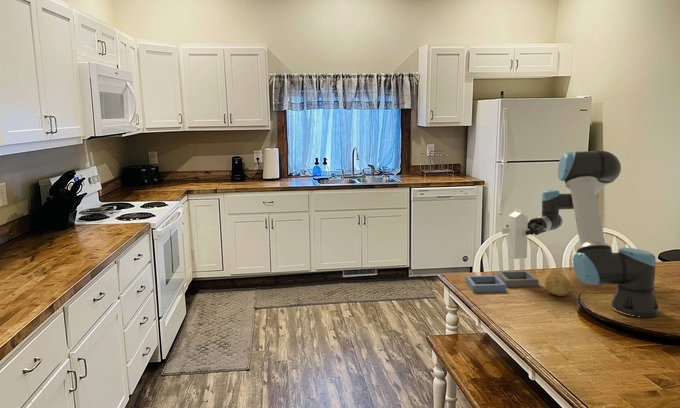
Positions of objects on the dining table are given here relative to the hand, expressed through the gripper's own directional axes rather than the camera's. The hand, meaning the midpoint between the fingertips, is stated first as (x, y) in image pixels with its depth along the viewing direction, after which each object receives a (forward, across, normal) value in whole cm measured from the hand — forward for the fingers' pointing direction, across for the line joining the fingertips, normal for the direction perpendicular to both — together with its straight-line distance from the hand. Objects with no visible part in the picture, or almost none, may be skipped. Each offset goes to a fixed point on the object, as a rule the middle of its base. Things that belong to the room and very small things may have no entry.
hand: (511, 232), depth 212 cm
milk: (-5, 0, -12) cm, 13 cm away
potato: (-2, -21, -24) cm, 32 cm away
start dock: (-5, 0, -24) cm, 24 cm away
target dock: (+11, +6, -24) cm, 27 cm away
